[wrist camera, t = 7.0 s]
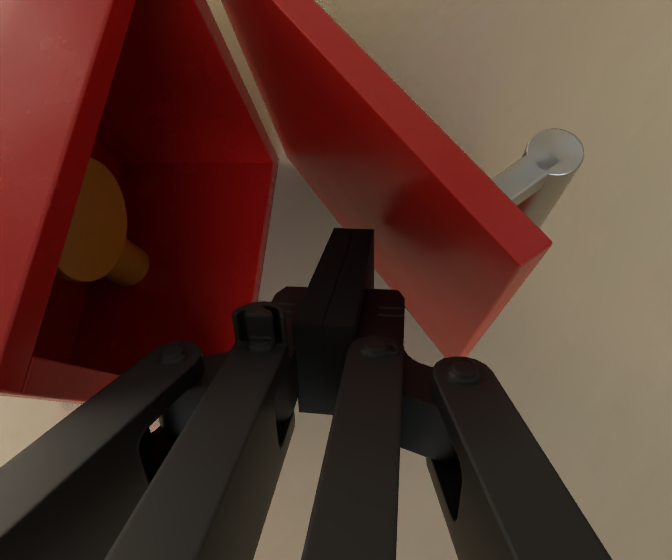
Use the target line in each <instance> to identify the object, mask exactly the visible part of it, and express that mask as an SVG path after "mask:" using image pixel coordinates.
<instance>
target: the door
mask: <svg viewBox="0 0 672 560" xmlns="http://www.w3.org/2000/svg"><path fill="white" fill-rule="evenodd" d="M221 1H222V3H223V6H224V8H225V10H226V13H227V15H228V18H229V20H230V22H231V25H232V27H233V29H234V32H235V34H236V37H237V39H238V41H239V44H240V46H241V48H242V51H243V53H244V55H245V58H246V60H247V63H248V65H249V67H250V70H251V72H252V74H253V77H254V79H255V82H256V84H257V86H258V89H259V91H260V93H261V96H262V98H263V101H264V103H265V105H266V108H267V110H268V112H269V115H270V117H271V120H272V122H273V124H274V127H275V129H276V131H277V134H278V136H279V138H280V141H281V143H282V146H283V148H284V150H285V153H286V155H287V157H288V159H289V160H290V161H291V163H292V164H293V165H294V166H295V168H296V169H297V170H298V171H299V173H300V174H301V175H302V177H303V178H304V179H305V180H306V182H307V183H308V184H309V185H310V187H311V188H312V189H313V190H314V192H315V193H316V194H317V196H318V197H319V198H320V199H321V201H322V202H323V203H324V204H325V206H326V207H327V208H328V209H329V211H330V212H331V213H332V215H333V216H334V217H335V218H336V220H337V221H338V222H339V223H340V225H341V226H342V227H343V228H351V229H374V268H375V269H376V270H377V272H378V273H379V274H380V275H381V277H382V278H383V279H384V280H385V282H386V283H387V284H388V285H389V287H390V288H391V289H392V290H399V292H400V293H401V294H402V295H403V297H404V298H405V307H406V308H407V310H408V311H409V312H410V313H411V315H412V316H413V317H414V318H415V320H416V321H417V322H418V323H419V325H420V326H421V327H422V329H423V330H424V331H425V332H426V334H427V335H428V336H429V337H430V339H431V340H432V341H433V342H434V344H435V345H436V346H437V348H438V349H439V350H440V351H441V353H442V354H443V355H444V356H445V358H448V357H453V356H458V357H467V355H468V354H469V353H470V351H471V350H472V349H473V347H474V346H475V345H476V343H477V342H478V341H479V340H480V338H481V337H482V336H483V334H484V333H485V332H486V330H487V329H488V328H489V326H490V325H491V324H492V323H493V321H494V320H495V319H496V317H497V316H498V315H499V313H500V312H501V311H502V309H503V308H504V307H505V306H506V304H507V303H508V302H509V300H510V299H511V298H512V296H513V295H514V294H515V292H516V291H517V290H518V289H519V287H520V286H521V285H522V283H523V282H524V281H525V279H526V278H527V277H528V275H529V274H530V273H531V272H532V270H533V269H534V268H535V266H536V265H537V264H538V262H539V261H540V260H541V258H542V257H543V256H544V255H545V253H546V252H547V251H548V249H549V248H550V247H551V245H552V241H551V240H550V239H549V238H548V237H547V236H546V235H545V234H544V233H543V232H542V231H541V230H540V227H541V225H542V224H543V222H544V221H545V219H546V218H547V216H548V215H549V213H550V212H551V210H552V208H553V207H554V205H555V204H556V202H557V201H558V199H559V198H560V196H561V194H562V193H563V191H564V190H565V188H566V187H567V185H568V184H569V182H570V181H571V179H572V177H573V176H574V174H575V173H576V171H577V170H578V168H579V167H580V165H581V163H582V161H583V158H584V149H583V146H582V143H581V142H580V140H579V139H578V138H577V137H576V136H575V135H573V134H572V133H570V132H568V131H565V130H562V129H547V130H543V131H541V132H539V133H537V134H535V135H534V136H533V137H532V138H531V139H530V140H529V142H528V144H527V146H526V149H525V151H524V153H523V156H522V158H521V159H520V160H518V161H517V162H515V163H514V164H513V165H511V166H510V167H508V168H507V169H505V170H504V171H503V172H501V173H500V174H498V175H497V176H496V177H494V178H493V179H490V178H489V177H488V176H487V175H486V174H485V173H484V172H483V171H482V170H481V169H480V168H479V167H478V166H477V165H476V164H475V163H474V162H473V161H472V160H471V159H470V158H469V157H468V156H467V155H466V154H465V153H464V152H463V151H462V150H461V149H460V148H459V147H458V146H457V145H456V144H455V143H454V142H453V141H452V140H451V139H450V138H449V137H448V136H447V135H446V134H445V133H444V132H443V131H442V129H441V128H440V127H439V126H438V125H437V124H436V123H435V122H434V121H433V120H432V119H431V118H430V117H429V116H428V115H427V114H426V113H425V112H424V111H423V110H422V109H421V108H420V107H419V106H418V105H417V104H416V103H415V102H414V101H413V100H412V99H411V98H410V97H409V96H408V95H407V94H406V93H405V92H404V91H403V90H402V89H401V88H400V87H399V86H398V85H397V84H396V83H395V82H394V81H393V80H392V79H391V78H390V77H389V76H388V75H387V74H386V73H385V72H384V71H383V70H382V69H381V68H380V67H379V66H378V65H377V64H376V63H375V62H374V61H373V60H372V59H371V58H370V57H369V56H368V55H367V54H366V53H365V52H364V51H363V50H362V48H361V47H360V46H359V45H358V44H357V43H356V42H355V41H354V40H353V39H352V38H351V37H350V36H349V35H348V34H347V33H346V32H345V31H344V30H343V29H342V28H341V27H340V26H339V25H338V24H337V23H336V22H335V21H334V20H333V19H332V18H331V17H330V16H329V15H328V14H327V13H326V12H325V11H324V10H323V9H322V8H321V7H320V6H319V5H318V4H317V3H316V2H315V1H314V0H221Z"/></svg>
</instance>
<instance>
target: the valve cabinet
mask: <svg viewBox="0 0 672 560" xmlns="http://www.w3.org/2000/svg"><path fill="white" fill-rule="evenodd" d="M278 160H279V159H278V157H277V155H276V153H275V150H274V148H273V146H272V144H271V142H270V139H269V137H268V135H267V133H266V131H265V128H264V126H263V124H262V122H261V120H260V118H259V115H258V113H257V111H256V109H255V107H254V104H253V102H252V100H251V98H250V96H249V93H248V91H247V89H246V87H245V85H244V82H243V80H242V78H241V76H240V74H239V72H238V69H237V67H236V65H235V63H234V61H233V58H232V56H231V54H230V52H229V50H228V47H227V45H226V43H225V41H224V39H223V37H222V34H221V32H220V30H219V28H218V26H217V23H216V21H215V19H214V17H213V15H212V12H211V10H210V8H209V6H208V4H207V1H206V0H0V396H10V397H20V398H30V399H40V400H49V401H59V402H70V403H80V404H83V403H85V402H86V401H87V400H89V399H90V398H91V397H93V396H94V395H95V394H96V393H98V392H99V391H100V390H102V389H103V388H104V387H105V386H107V385H108V384H109V383H111V382H112V381H113V380H114V379H116V378H117V377H118V376H120V375H121V374H122V373H124V372H125V371H126V370H127V369H129V368H130V367H131V366H133V365H134V364H135V363H136V362H138V361H139V360H140V359H142V358H143V357H144V356H145V355H147V354H148V353H149V352H151V351H152V350H154V349H155V348H157V347H159V346H161V345H164V344H167V343H169V342H173V341H191V342H193V343H196V344H198V345H199V347H200V348H201V350H202V355H203V356H205V355H213V354H220V353H225V352H229V351H230V350H231V349H232V347H233V345H234V344H235V342H236V341H235V335H234V328H233V321H232V315H231V313H232V312H233V311H234V310H236V309H237V308H239V307H241V306H243V305H245V304H249V303H253V302H257V301H258V294H259V288H260V281H261V274H262V267H263V261H264V254H265V247H266V241H267V234H268V227H269V220H270V214H271V207H272V200H273V194H274V187H275V180H276V174H277V167H278Z"/></svg>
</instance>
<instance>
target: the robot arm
mask: <svg viewBox="0 0 672 560" xmlns="http://www.w3.org/2000/svg"><path fill="white" fill-rule="evenodd" d="M404 311H405V298H404V297H403V295H402V294H401V293H400V292H399V290H386V289H374V229H351V228H334V229H333V232H332V234H331V236H330V238H329V241H328V243H327V245H326V247H325V250H324V252H323V254H322V256H321V259H320V261H319V263H318V265H317V268H316V270H315V272H314V274H313V277H312V279H311V281H310V283H309V286H308V287H288V286H287V287H285V288H284V289H282V290H281V291H279V292H278V293H276V295H275V296H274V298H273V300H272V302H266V301H264V302H253V303H249V304H245V305H243V306H241V307H239V308H237V309H236V310H234V311H233V312H232V313H231V315H232V321H233V328H234V335H235V341H236V342H235V344H234V345H233V347H232V349H231V350H230V351H229V352H225V353H220V354H213V355H205V356H203V355H202V350H201V348H200V347H199V345H198V344H196V343H193V342H191V341H173V342H169V343H167V344H164V345H161V346H159V347H157V348H155V349H154V350H152V351H151V352H149V353H148V354H147V355H145V356H144V357H143V358H142V359H140V360H139V361H138V362H136V363H135V364H134V365H133V366H131V367H130V368H129V369H127V370H126V371H125V372H124V373H122V374H121V375H120V376H118V377H117V378H116V379H114V380H113V381H112V382H111V383H109V384H108V385H107V386H105V387H104V388H103V389H102V390H100V391H99V392H98V393H96V394H95V395H94V396H93V397H91V398H90V399H89V400H87V401H86V402H85V403H83V404H82V405H81V406H80V407H78V408H77V409H76V410H74V411H73V412H72V413H71V414H69V415H68V416H67V417H65V418H64V419H63V420H61V421H60V422H59V423H58V424H56V425H55V426H54V427H52V428H51V429H50V430H49V431H47V432H46V433H45V434H43V435H42V436H41V437H40V438H38V439H37V440H36V441H34V442H33V443H32V444H30V445H29V446H28V447H27V448H25V449H24V450H23V451H21V452H20V453H19V454H18V455H16V456H15V457H14V458H12V459H11V460H10V461H9V462H7V463H6V464H5V465H3V466H2V467H1V468H0V560H253V558H254V555H255V551H256V548H257V545H258V542H259V539H260V535H261V532H262V529H263V526H264V523H265V519H266V516H267V513H268V510H269V507H270V503H271V500H272V497H273V494H274V491H275V488H276V484H277V481H278V478H279V475H280V472H281V468H282V465H283V462H284V459H285V456H286V452H287V449H288V446H289V443H290V440H291V436H292V433H293V430H294V427H295V416H294V407H295V404H296V401H297V398H298V403H299V412H305V413H317V414H328V415H333V419H332V423H331V428H330V432H329V437H328V441H327V446H326V450H325V455H324V459H323V464H322V468H321V473H320V477H319V482H318V486H317V491H316V495H315V500H314V504H313V509H312V513H311V518H310V522H309V527H308V531H307V536H306V540H305V545H304V549H303V554H302V558H301V560H396V542H397V515H398V488H399V461H400V447H401V448H404V449H406V450H409V451H412V452H414V453H417V454H420V455H423V456H425V457H426V462H427V467H428V470H429V473H430V476H431V479H432V482H433V485H434V488H435V491H436V494H437V497H438V500H439V503H440V506H441V509H442V512H443V515H444V518H445V521H446V524H447V527H448V530H449V533H450V536H451V539H452V542H453V545H454V548H455V551H456V554H457V557H458V560H612V559H611V557H610V555H609V554H608V552H607V551H606V549H605V548H604V546H603V544H602V543H601V541H600V540H599V538H598V537H597V535H596V533H595V532H594V530H593V529H592V527H591V526H590V524H589V522H588V521H587V519H586V518H585V516H584V515H583V513H582V511H581V510H580V508H579V507H578V505H577V504H576V502H575V500H574V499H573V497H572V496H571V494H570V493H569V491H568V489H567V488H566V486H565V485H564V483H563V482H562V480H561V478H560V477H559V475H558V474H557V472H556V471H555V469H554V467H553V466H552V464H551V463H550V461H549V460H548V458H547V456H546V455H545V453H544V452H543V450H542V449H541V447H540V445H539V444H538V442H537V441H536V439H535V438H534V436H533V434H532V433H531V431H530V430H529V428H528V427H527V425H526V423H525V422H524V420H523V419H522V417H521V416H520V414H519V412H518V411H517V409H516V408H515V406H514V404H513V403H512V401H511V400H510V398H509V397H508V395H507V393H506V392H505V390H504V389H503V387H502V386H501V384H500V382H499V381H498V379H497V378H496V376H495V375H494V373H493V372H492V370H491V369H490V368H489V367H488V366H487V365H485V364H483V363H482V362H480V361H478V360H476V359H472V358H468V357H458V356H453V357H448V358H443V359H442V360H440V361H439V362H437V363H436V364H435V366H434V367H430V366H427V365H424V364H421V363H418V362H417V361H415V360H413V359H412V358H411V357H409V356H408V355H407V353H406V352H405V350H404V346H403V340H404ZM158 418H159V421H160V426H159V427H158V428H157V429H156V430H155V431H153V432H152V433H151V432H150V429H149V426H150V425H151V424H152V423H153V422H155V421H156V420H157V419H158Z"/></svg>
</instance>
